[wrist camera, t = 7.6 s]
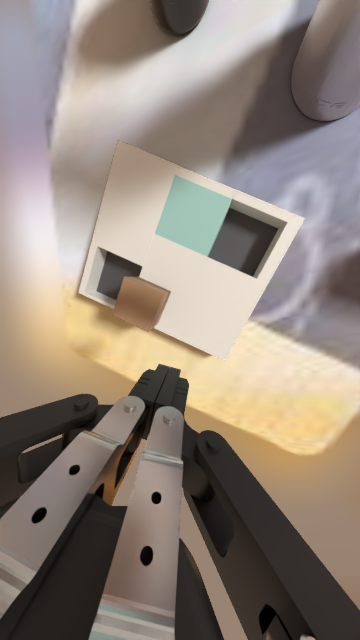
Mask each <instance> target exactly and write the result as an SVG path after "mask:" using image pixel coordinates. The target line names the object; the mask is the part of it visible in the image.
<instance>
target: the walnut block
mask: <svg viewBox="0 0 360 640" xmlns="http://www.w3.org/2000/svg"><path fill="white" fill-rule="evenodd" d="M170 293H171V291H169V290H167V289H165V288H163V287H160V286H158V285H156V284H154V283H151V282H149V281H147V280H145V279H142V278H140V277H124V279H123V282H122V285H121V289H120V292H119V295H118V298H117V301H116V304H115V307H114V310H113V314H112V315H113V316H115V317H117V318H119V319H121V320H123V321H126V322H128V323H130V324H132V325H134V326H136V327H139V328H141V329H143V330H145V331H147V332H149V331H150V330H151V329H153V328H154V327H155V326H156V325H157V324H158V323H159V320H160V318H161V315H162V313H163V310H164V308H165V306H166V303H167V301H168V298H169V296H170Z"/></svg>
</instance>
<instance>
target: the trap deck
mask: <svg viewBox="0 0 360 640" xmlns="http://www.w3.org/2000/svg"><path fill="white" fill-rule="evenodd" d="M304 219H305V218H302V217H300V216H298V215H295V214H293V213H291V212H288V211H286V210H283V209H281V208H279V207H276V206H274V205H272V204H269V203H267V202H264V201H262V200H260V199H257V198H255V197H253V196H250V195H248V194H246V193H243V192H241V191H238V190H235V189H233V188H230V187H228V186H226V185H223V184H221V183H219V182H216V181H214V180H211V179H209V178H207V177H204V176H202V175H200V174H197V173H195V172H192V171H190V170H188V169H185V168H183V167H181V166H178V165H177V164H174V163H172V162H170V161H167V160H165V159H162V158H160V157H158V156H155V155H153V154H151V153H148V152H146V151H144V150H141V149H139V148H136V147H134V146H132V145H129V144H127V143H125V142H122V141H120V140H118V141H117V145H116V148H115V152H114V156H113V160H112V164H111V168H110V172H109V176H108V180H107V183H106V187H105V191H104V195H103V199H102V203H101V207H100V211H99V214H98V218H97V222H96V226H95V230H94V234H93V238H92V242H91V246H90V249H89V253H88V257H87V261H86V265H85V269H84V273H83V277H82V280H81V284H80V288H79V292H78V293H80V294H82V295H84V296H86V297H88V298H91V299H93V300H95V301H97V302H99V303H101V304H103V305H106V306H108V307H110V308H112V309H114V307H115V304H116V301H117V298H118V295H119V292H120V289H121V285H122V282H123V279H124V277H140V278H142V279H145V280H147V281H149V282H151V283H154V284H156V285H158V286H160V287H163V288H165V289H167V290H169V291H171V293H170V296H169V298H168V301H167V303H166V306H165V308H164V310H163V313H162V315H161V318H160V320H159V323H158V324H157V325H156V326H155V327H154V328H155V329H157V330H159V331H161V332H164V333H166V334H168V335H170V336H172V337H174V338H176V339H179V340H181V341H183V342H185V343H187V344H189V345H191V346H194V347H196V348H198V349H200V350H202V351H204V352H206V353H209V354H211V355H213V356H215V357H217V358H219V359H221V360H224V361H225V359H226V357H227V356H228V354H229V352H230V350H231V348H232V347H233V345H234V343H235V341H236V340H237V338H238V336H239V334H240V332H241V331H242V329H243V327H244V325H245V324H246V322H247V320H248V318H249V317H250V315H251V313H252V311H253V309H254V308H255V306H256V304H257V302H258V301H259V299H260V297H261V295H262V293H263V292H264V290H265V288H266V286H267V285H268V283H269V281H270V279H271V278H272V276H273V274H274V272H275V270H276V269H277V267H278V265H279V263H280V262H281V260H282V258H283V256H284V254H285V253H286V251H287V249H288V247H289V246H290V244H291V242H292V240H293V239H294V237H295V235H296V233H297V231H298V230H299V228H300V226H301V224H302V223H303V221H304Z"/></svg>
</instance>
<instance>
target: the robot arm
mask: <svg viewBox="0 0 360 640" xmlns="http://www.w3.org/2000/svg"><path fill="white" fill-rule="evenodd" d="M291 86H292V94H293V97H294V101H295V102H296V104H297V106H298V108H299V109H300V110H301V111H302V112H303V113H304V114H305V115H306V116H308V117H310V118H312V119H315V120H319V121H331V120H335V119H339V118H341V117H344V116H346V115H348V114H350V113H351V112H353V111H354V110H356V109H357V108H358V107H360V0H319V1H318V4H317V6H316V9H315V11H314V14H313V16H312V19H311V21H310V23H309V26H308V28H307V31H306V33H305V36H304V38H303V41H302V43H301V46H300V48H299V51H298V53H297V56H296V59H295V62H294V66H293V69H292V77H291ZM169 368H170V369H169ZM180 371H181V370H180V369H176V368H173V367H169V366H165V365H161V364H159V365H158V367H157V368H156V370H155V371H154V370H151V369H149V370H147V371H145V372H144V373H143V374H142V376H141V377H140V379H139V380H138V382H137V383H136V384H135V386H134V387H133V389H132V390H131V392H130V394H129V395H128V396H126V397H123V398H121V399H119V400H118V401H117V402H116V403H115V404H114V405H98V400H97V398H96V397H95V396H93V395H90V394H79V395H75V396H72V397H69V398H66V399H62V400H59V401H55V402H52V403H48V404H45V405H42V406H38V407H35V408H32V409H29V410H25V411H22V412H18V413H15V414H11V415H8V416H5V417H1V418H0V640H224V638H223V635H222V633H221V630H220V627H219V624H218V621H217V619H216V616H215V613H214V610H213V608H212V605H211V602H210V599H209V596H208V594H207V591H206V588H205V586H204V582H203V580H202V577H201V574H200V572H199V569H198V567H197V565H196V563H195V560H194V558H193V556H192V555H191V553H190V551H189V550H188V548H187V546H186V545H185V544H184V543H183V541H182V540H181V539H180V538H179V532H180V514H181V496H182V488H183V491H184V496H185V498H186V501H187V503H188V505H189V507H190V510H191V512H192V514H193V517H194V519H195V521H196V523H197V526H198V528H199V530H200V532H201V534H202V537H203V539H204V541H205V544H206V546H207V548H208V550H209V553H210V555H211V557H212V559H213V562H214V564H215V566H216V568H217V571H218V573H219V575H220V577H221V580H222V582H223V584H224V587H225V589H226V591H227V593H228V595H229V598H230V600H231V602H232V605H233V607H234V609H235V611H236V614H237V616H238V618H239V620H240V623H241V625H242V627H243V629H244V632H245V634H246V636H247V638H248V640H360V610H359V609H358V608H357V606H356V605H355V604H354V603H353V601H352V600H351V599H350V598H349V596H348V595H347V594H346V593H345V591H344V590H343V589H342V587H341V586H340V585H339V584H338V582H337V581H336V580H335V579H334V577H333V576H332V575H331V573H330V572H329V571H328V570H327V568H326V567H325V566H324V565H323V563H322V562H321V561H320V560H319V558H318V557H317V556H316V554H315V553H314V552H313V551H312V549H311V548H310V547H309V546H308V544H307V543H306V542H305V541H304V539H303V538H302V537H301V535H300V534H299V533H298V532H297V530H296V529H295V528H294V527H293V525H292V524H291V523H290V521H289V520H288V519H287V518H286V516H285V515H284V514H283V513H282V511H281V510H280V509H279V508H278V506H277V505H276V504H275V503H274V501H273V500H272V499H271V497H270V496H269V495H268V494H267V492H266V491H265V490H264V489H263V487H262V486H261V485H260V483H259V482H258V481H257V480H256V478H255V477H254V476H253V475H252V473H251V472H250V471H249V469H248V468H247V467H246V466H245V464H244V463H243V462H242V461H241V459H240V458H239V457H238V456H237V454H236V453H235V452H234V450H232V448H231V447H230V445H229V444H228V443H227V441H226V440H225V439H224V438H223V437H222V436H221V435H219V434H218V433H216V432H214V431H210V430H207V431H203V432H201V433H200V434H199V433H197V432H196V431H194V430H193V429H191V428H190V427H189V426H188V425H187V423H186V421H185V419H184V411H185V406H186V400H187V394H188V388H189V383H188V381H187V379H184V378H180V377H179V376H180ZM61 434H62V438H60V439H57V440H55V441H52V442H50V443H48V444H45V445H43V446H40V447H38V448H36V449H33V450H31V451H28V452H26V453H22V452H23V451H24V450H26V449H27V448H29V447H32V446H34V445H36V444H39V443H41V442H44V441H46V440H49V439H51V438H53V437H56V436H58V435H61ZM148 435H149V437H148ZM147 437H148V441H147V444H146V448H145V451H144V452H143V455H142V459H141V462H140V466H139V469H138V472H137V476H136V479H135V483H134V486H133V490H132V493H131V497H130V500H129V504H128V506H112V503H113V501H114V498H115V496H116V493H117V491H118V489H119V487H120V485H121V483H122V481H123V479H124V477H125V475H126V473H127V471H128V469H129V467H130V465H131V462H132V461H133V459H134V457H135V455H136V452H137V448H138V446H139V444H140V442H141V439H145V440H147Z"/></svg>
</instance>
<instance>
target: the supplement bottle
mask: <svg viewBox="0 0 360 640" xmlns="http://www.w3.org/2000/svg"><path fill="white" fill-rule="evenodd" d="M208 2H209V0H150V3H151V7H152V11H153V14H154V17H155V19H156V21H157V22H158V24H159V25H160V26H161V28H162V29H164V30H165V31H166V32H168V33H170V34H174V35H181V34H184V33H187V32H189V31H190V30H192V29H193V28H194V27H195V26H196V25H197V24H198V23H199V21H200V20H201V18H202V17H203V15H204V13H205V11H206V8H207V5H208Z"/></svg>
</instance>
